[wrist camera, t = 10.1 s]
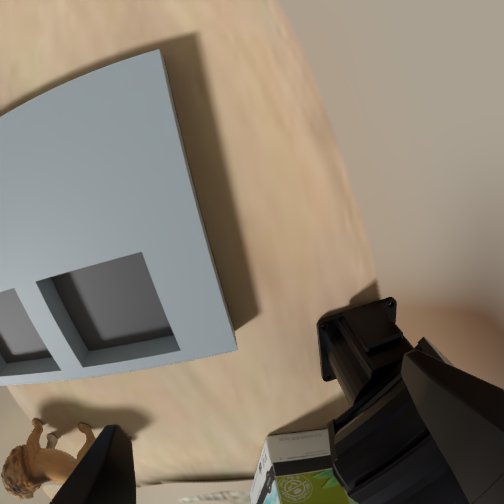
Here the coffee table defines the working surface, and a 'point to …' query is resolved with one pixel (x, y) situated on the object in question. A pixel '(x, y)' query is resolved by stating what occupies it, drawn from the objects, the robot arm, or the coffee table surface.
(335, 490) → the tea box
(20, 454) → the lion figurine
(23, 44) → the coffee table surface
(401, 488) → the robot arm
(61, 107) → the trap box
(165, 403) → the coffee table surface
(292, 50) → the coffee table surface
